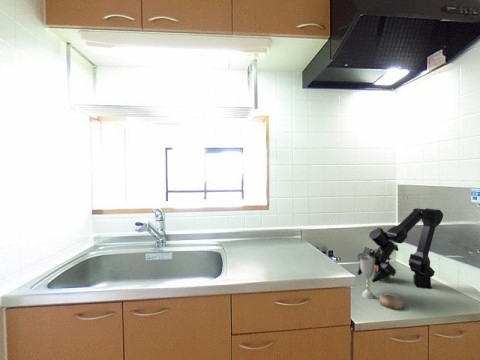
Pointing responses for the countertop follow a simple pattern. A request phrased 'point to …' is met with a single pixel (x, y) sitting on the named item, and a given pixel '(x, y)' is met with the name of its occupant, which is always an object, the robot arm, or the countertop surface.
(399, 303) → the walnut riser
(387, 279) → the canned tomato
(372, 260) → the chalice
